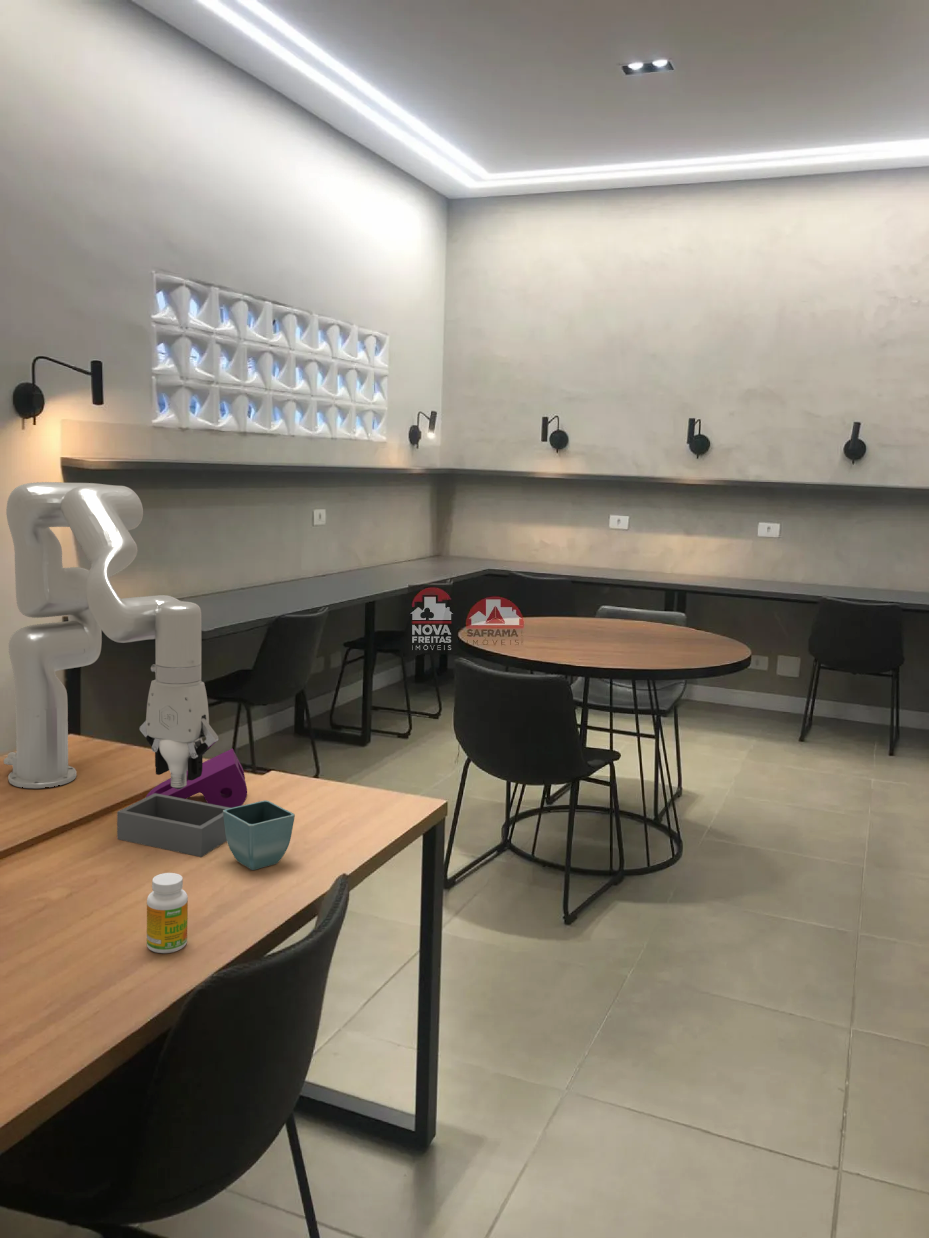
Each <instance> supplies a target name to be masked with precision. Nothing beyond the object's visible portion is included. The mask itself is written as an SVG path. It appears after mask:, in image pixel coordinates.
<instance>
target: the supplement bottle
mask: <svg viewBox="0 0 929 1238" xmlns="http://www.w3.org/2000/svg"><path fill="white" fill-rule="evenodd" d="M183 878H184V877H183V876H182V875H181V874H179V873H176V872H163V873H160V874H157V875H155V876H153V878H152V882H151V884H152V885H151V888H152V891H151V892H150V893H149V894H148V896H147V897H146V898H147V899H146V946H147V949H148V950H150V951H151V952H154V953H158V954H170V953H174V952H177V951H180V950H181V949H183V948H184V947H185V946H186V944H187V943H188V919H189V918H188V912H189V910H188V908H189V907H188V906H189V903H188V901H189V899H188V898H189V897H188V894H187V891H185V890H184V889H183V883H184V880H183Z"/></svg>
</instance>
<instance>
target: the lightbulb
mask: <svg viewBox="0 0 929 1238" xmlns="http://www.w3.org/2000/svg"><path fill="white" fill-rule="evenodd" d="M194 743H195V745H196V742H194ZM196 748H197V747H196ZM159 750H160V753H161V755H162V757H163V758H164V759H165V761H166V762H167V764H168V768H169V771H168V772H169V773H170V778H171V786H172V787H174V788H176V789H182V788H183V787H185V786H186V785H187V781H186V780H187V779H186V778H187V777H186V776H187V770H188V758H190V757H191V755H190V751H189V748H188V744H187V743H180V742H176V741H172V740H167V739H163V740H161V739H160V742H159Z"/></svg>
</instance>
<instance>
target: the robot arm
mask: <svg viewBox="0 0 929 1238" xmlns="http://www.w3.org/2000/svg"><path fill="white" fill-rule="evenodd" d="M5 509H6V512H5V513H6V514H5V515H6V520H7V525H8V529H9V532H10V534H11V537H12V542H13V550H14V576H15V578H14V580H15V583H14V584H15V599H16V600H15V601H16V606H17V609H18V611H19V612H20V614H22V615H23V616H25V617H28V618H32V619H33V618H34V619H35V618H37V619H38V618H41V619H42V618H53V617H55V618H56V617H63V616H64V617H65V616H67V619H68V621H58V622H57V621H56V622H47V623H39V624H38V623H37V624H32V625H31V624H30V625H26V626H24V627H20V628H19V629H18V630H16V631H15V632H13V634H12V635H11V637H10V639H9V640H8V654H9V659H10V663H11V664H10V665H11V667H12V673H13V681H14V697H15V699H14V702H15V703H14V704H15V731H16V733H15V734H16V735H15V736H16V737H15V738H16V739H15V740H16V741H15V742H16V743H15V744H16V746H15V747H16V752H13V751H11V752H9V753H8V754H7V757H5V758H4V759H3V764H5V765H7V766H12V771H11V772H10V773H9V774H8V783H9V784H10V785H12V786H14V787H17V788H22V787H23V788H24V789H46V788H45V787H49V788H54V786H55V787H59V786H58V785H60V786H63V785H66V784H68V783H71V782H73V781H74V780H75V779H76V777H77V770H76V768H75V767H73V766H72V765H71V766H70V765H69V731H68V730H69V724H68V723H69V721H68V718H69V717H68V716H69V715H68V714H69V713H68V711H69V710H68V706H69V705H68V703H69V702H68V693H67V691H68V690H67V689H66V687H65V685H64V684H63V683H62V681H61V680H60V679H59V677H58V676H57V674H56V672H57V671H61V670H62V671H63V670H68V669H69V670H70V669H74V668H80V667H85V666H89V665H92V664H94V663H95V662H96V661H98V659H99V657H100V655H101V651H102V644H103V643H102V641H103V640H102V639H103V638H102V633H103V634H104V635H105V636H106V637H107V638H108V639H110V640H111V641H114V642H116V643H122V644H124V643H133V642H140V641H146V640H155V642H154V643H155V664H153V663H152V665H151V666H150V671H151V672H152V673H155V679H154V680H151V683H150V687H149V690H148V696H147V703H146V715H145V716H146V717H145V721H144V722H143V723H142V724H141V725H140V726H139V729H138V730H139V731H140V732H141V734H142V735H143V736H144V737H145V739H146V741H147V743H148V744H149V745H150V746H151V751H152V752H153V753H154V767H155V775H158V776H160V775H163V774H165V773H167V772H170V771H169V768H168V764H167V762H166V761H165V759H164V758H163V757H162V755H161V753H160V750H159V742H160V739H161V740H163V739H167V740H172V741H176V742H180V743H187V744H188V748H189V751H190V755H191V757H190V758H188V779H189V780H194V779H196V778H198V777H200V776H201V775H202V763H203V756H204V755H205V754H206V753H207V751H209V750H210V749H211V747H212V746H214V745H215V744H216V743H217V742H218V741H219V736H218V734H217V733H216V731H215V730H214V729H213V728H212V726H211V725H210V716H209V703H208V696H207V695H208V694H207V690H206V686H205V685H206V684H205V682H204V681H202V609H201V607H200V606H199V604H197V603H195V602H191V601H182V600H179V599H177V598H176V597H175V596H174V597H173V596H172V595H167V594H165V595H163V594H160V595H148V596H136V597H124V598H121V597H120V596H119V595H118V593H117V592H116V589H115V588H114V587H113V585H112V583H111V580H110V578H111V577H113V576H114V575H117V574H118V573H120V572H122V571H123V570H126V568H127V567H129V566H130V565H131V564H132V563H133V562H134V560H135V559H136V557H137V555H138V545H137V543H136V541H135V540H134V538H133V537H132V535H131V532H130V531H131V530H134V529H137V527H139V525H140V524H141V523H142V520H143V518H144V517H143V516H144V509H143V503H142V501H141V499H140V497H139V496H138V494H137V493H136V492H135V491H134V490H133V489H132V488H130V487H128V486H125V485H114V484H113V485H112V484H105V483H103V484H102V483H95V482H94V483H93V482H90V483H89V482H59V481H58V482H57V481H55V482H51V481H50V482H49V481H44V482H43V481H41V482H38V481H37V482H29V483H24V484H23V483H22V484H21V485H18V486H17V487H15V488H14V489H12V491H11V493H10V495H9V496H8V499H7V501H6V508H5ZM51 528H70V530H71V531H72V533H73V536H74V537H75V539H76V540H77V542H78V544H79V545H80V547H81V549H82V551H83V552H84V554H85V556H86V558H87V560H88V561H89V563H90V565H91V567H90V568H89V569H88V568H84V567H79V566H78V567H77V566H76V567H75V566H73V567H63V566H64V565H63V549H62V544H61V542H60V540H59V538H58V537H57V536H56V534H55V533H54V531H53V530H52V529H51ZM203 738H205V740H204V741H203ZM194 742H196V745H195V743H194ZM196 747H197V748H196Z"/></svg>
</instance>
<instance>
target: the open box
mask: <svg viewBox="0 0 929 1238" xmlns="http://www.w3.org/2000/svg"><path fill="white" fill-rule="evenodd" d="M225 809H229V807H224V806H219V805H214V804H208V803H207V802H202V801H196V800H192V799H188V798H187V799H182V798H177V797H172V796H167V795H162V794H156V793H154V794H152V795H150V796H148V797H146V796H145V798H142V799H140V800H138V801H137V802H134V803H132V804H130V805H128V806H126V807H124V808H121V809H119V810H118V811H117V812H116V820H117V821H116V822H117V823H116V826H117V827H116V829H117V831H116V834H117V835H116V837H117V840H120V841H124V842H127V843H134V844H138V845H144V846H148V847H153V848H157V849H162V850H167V851H172V852H176V853H180V854H181V853H182V854H185V855H190V856H195V857H199V858H202V857H204V856H205V855H207V854H208V853H210V852H212V851H213V850H215V849H217V848H218V847H219V846H221V845H222V844H225V843H227V840H226V834H225V825H224V816H223V810H225Z"/></svg>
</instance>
